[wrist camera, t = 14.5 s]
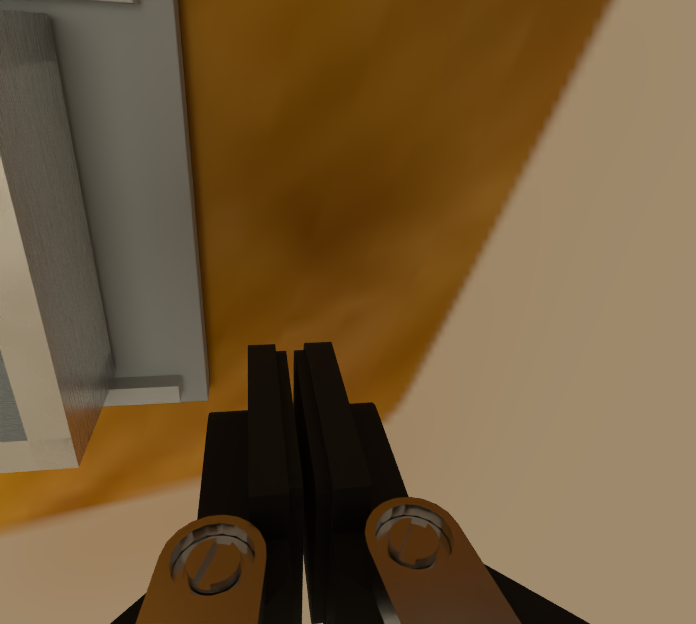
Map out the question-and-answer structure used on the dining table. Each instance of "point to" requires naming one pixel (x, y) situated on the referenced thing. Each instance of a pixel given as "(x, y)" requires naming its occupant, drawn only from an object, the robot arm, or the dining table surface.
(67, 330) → the collar
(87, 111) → the base plate
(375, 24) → the dining table surface
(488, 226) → the dining table surface
